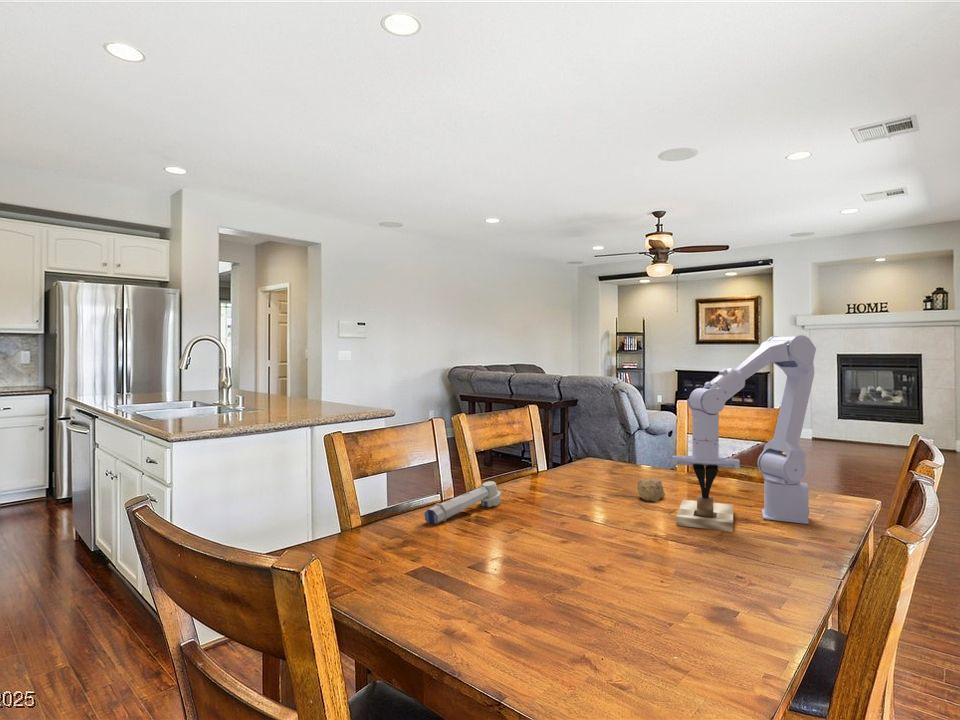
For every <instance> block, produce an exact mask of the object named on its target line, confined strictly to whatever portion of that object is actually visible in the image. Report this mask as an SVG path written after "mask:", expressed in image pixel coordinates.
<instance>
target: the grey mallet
mask: <svg viewBox="0 0 960 720" xmlns="http://www.w3.org/2000/svg"><path fill="white" fill-rule="evenodd" d="M501 497H502V492H501V491H500V490H498V487H497V483H496V482H495V481H491V480H490V481H485V482H483V483H482V485H481V486H480V487H478V488H475V489H473V490H471V491H468V492H466V493H463V494H460V495H458V496H456V497H453V498H450V499H449V500H446V501H443V502H441V503H439V502H437V503H435V504H434V506H432V507H430V508H428V509H426V510H425V511H424V514H423V515H424V520H425V521H426V523H427V524H428V523H429V524H428V525H432V526H435V525H438V524H440V523H442V522H444V523H445V522H446V520H447V519H449V518H451V517H454V516H455V515H457V514H458V513H460V512H462V511H463V510H464V511H465V510H466V509H467V508H469V507H471V506H474V505H475V504H477V503H479V502H480V506H481V507H484V506H485V508H491V507H493V506H494V507H497V506H499V505H500V503H501Z"/></svg>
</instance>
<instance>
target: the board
mask: <svg viewBox="0 0 960 720" xmlns="http://www.w3.org/2000/svg"><path fill="white" fill-rule="evenodd" d="M713 514H714V516H713V518H707V517H698V516H697V500H692V499H691V500H690V499H682V500H681V503H680V506H679V509H678V511H677V514H676V516H675V517H676V519H675V522H676V523H675V525H676V526H682V527H689V528H690V527H691V528H698V529H705V530H716V531H722V532H731V533H733V532H734V504H731V503H730V504H728V503H720V502H713Z"/></svg>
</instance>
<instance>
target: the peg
mask: <svg viewBox="0 0 960 720" xmlns="http://www.w3.org/2000/svg"><path fill="white" fill-rule="evenodd" d="M696 501H697V516H698V517H707V518H713V516H714V514H713V503H714V497H712V496H711V495H709V498H702V494H701V495H697V496H696Z"/></svg>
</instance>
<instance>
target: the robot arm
mask: <svg viewBox="0 0 960 720" xmlns="http://www.w3.org/2000/svg"><path fill="white" fill-rule="evenodd" d="M816 350H817V347H816V346H815V345H814V343H813V342H812V340H811V339H810V338H809V337H808V336H806V335H804V334H802V335H801V334H800V335H789V336H785V335H784V336H783V335H782V336H780V335H779V336H778V335H774V336H773V335H772V336H770V337H769V338H768V339H766V340H765V341H763V342H762V343H760V346H759V348H757V349H755V351H754V352H753V353H751V354H750V355H749V356H748V357H747V358H746V359H745V360H744V361H742V362H741V363H740V364H739V365H738V366H736V367H735V368H734V369H733V368H731V367H730V368H729V367H728V368H724V369H723V368H722V369H720V370H719V371H718V373H719V374H717V376H715V377H714V378H713V379H712V380H710V381H706V382H705V383H704V386H703V387H699V388H698V387H697V388H695V389H694V390H692V392H690V395H689V397H688V399H686V403H687V406H688V407H689V409H690V410H691V417H692V422H691V423H692V426H691V427H692V429H691V430H692V433H691V434H692V446H691V447H692V450H691V451H692V452H691V453H692V455H672V465H673V466H678V465H679V466H692V468H693V472H694V473H695V475H696V478H697V480H698V483H699V486H700V491H701V492H700V493H701V495H702V498H709V496H710V492H711V489H712V485H713V484H714V483H713V482H714V480H715V479H716V476H717V475H718V472H719V468H727V469H729V468H730V469H735V470H739V469H740V468H741V467H740V465H741V464H740V463H741V461H740V459H739V458H729V457H721V456H720V457H719V454H720V452H719V451H720V450H719V449H720V448H719V441H720V440H719V434H720V433H719V431H720V430H719V426H720V425H719V423H720V421H719V420H720V419H719V418H720V416H719V414H720V413H721V412H722V411H723V410H724V408H725V405H726V402H727V401H728V400H729V399H731V398H732V397H734V396H735V395H736V394H737V393H738V392H740V391H741V390H742V389H744V388H745V386H746V380H747V379H749V378H750V377H751V376H753V375H754V374H756V373H757V372H759V371H760V370H762V369H763V368H765V367H766V366H768V365H769V364H771V363H773V364H774V365H776V366H777V368H779V369H781V370H782V371H783V373H784V374H785V375H786V380H785V386H784V390H783V395H782V399H781V403H780V409H779V412H778V416H777V421H776V426H775V431H774V435H773V438H772V439H771V440H769V441H768V442H766V443H765V444H764V446H763V450H762V452H761V453H760V454H759V456H758V458H757V468H758V470H759V472H761V474H762V478H763V479H764V481H763V483H764V486H763V487H764V489H763V490H764V494H763V495H764V496H763V499H764V501H763V504H764V508H762V509H761V515H762V519H763V520H769V521H777V522H788V523H796V524H807V525H808V524H809V515H810V507H809V502H810V501H809V499H810V498H809V497H810V495H809V485H808V483H806V482H801V481H802V480H803V479H804V477H805V476H806V473H807V466H806V456H807V454H806V452H805V451H804V450H803V448H802V447H801V446H800V440H801V436H802V431H803V427H804V423H805V417H806V413H807V409H808V406H809V405H808V404H809V400H810V395H811V390H812V387H813V382H814V377H815V365H814V359H815V355H816V352H817V351H816Z"/></svg>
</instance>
